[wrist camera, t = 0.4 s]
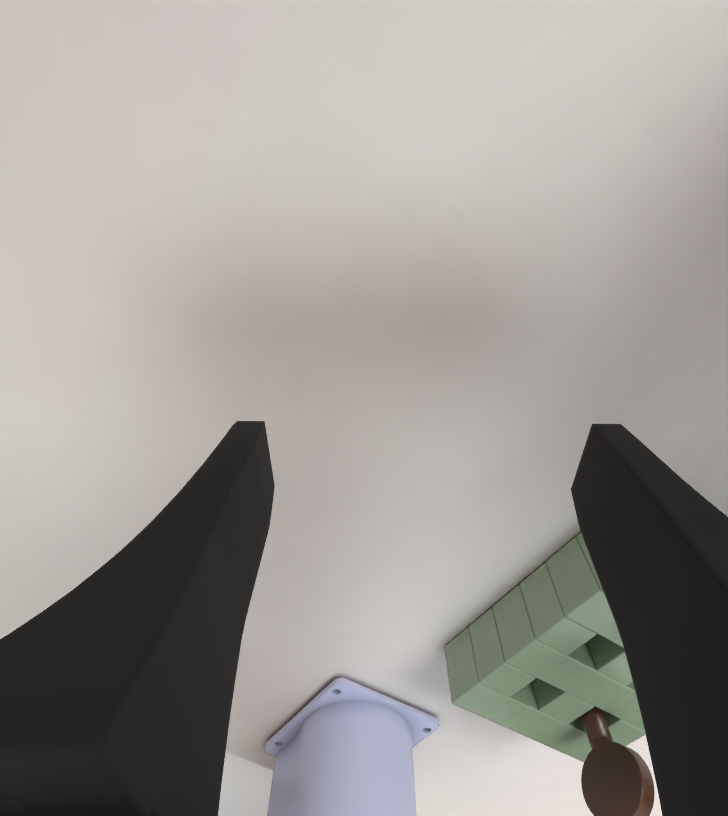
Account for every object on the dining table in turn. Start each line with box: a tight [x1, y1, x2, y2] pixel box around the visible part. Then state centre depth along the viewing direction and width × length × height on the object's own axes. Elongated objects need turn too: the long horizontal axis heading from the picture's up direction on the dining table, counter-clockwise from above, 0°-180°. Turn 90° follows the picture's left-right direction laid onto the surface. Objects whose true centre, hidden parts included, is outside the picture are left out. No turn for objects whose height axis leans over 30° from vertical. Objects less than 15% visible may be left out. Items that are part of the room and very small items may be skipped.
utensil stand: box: [445, 532, 646, 762], centre depth 29 cm, size 15×11×4 cm
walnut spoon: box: [581, 706, 654, 816], centre depth 29 cm, size 1×4×8 cm, turn 145°
